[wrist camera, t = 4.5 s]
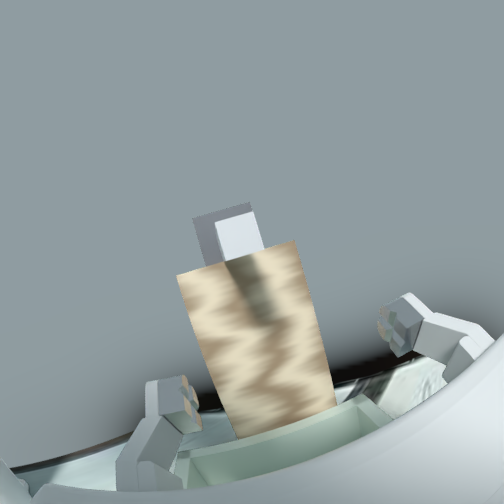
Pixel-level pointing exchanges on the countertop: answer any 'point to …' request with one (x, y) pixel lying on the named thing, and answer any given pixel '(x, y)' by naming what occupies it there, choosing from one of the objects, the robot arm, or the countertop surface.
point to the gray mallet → (228, 234)
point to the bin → (280, 445)
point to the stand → (260, 339)
